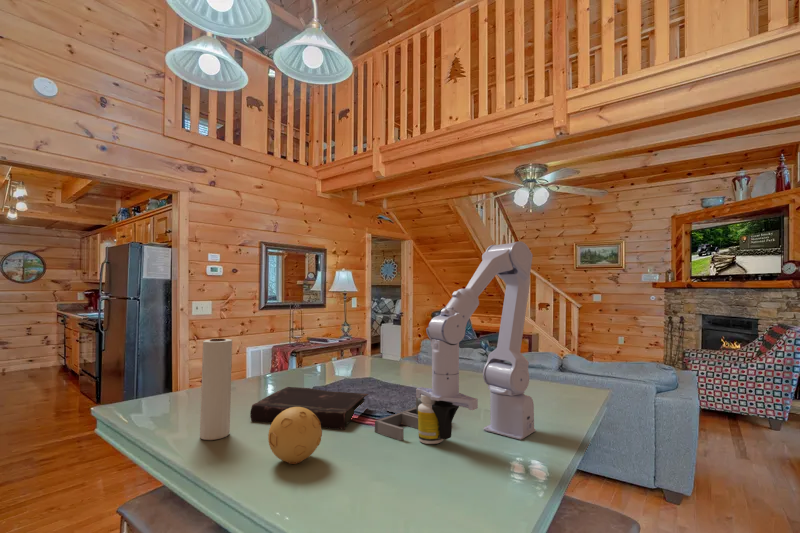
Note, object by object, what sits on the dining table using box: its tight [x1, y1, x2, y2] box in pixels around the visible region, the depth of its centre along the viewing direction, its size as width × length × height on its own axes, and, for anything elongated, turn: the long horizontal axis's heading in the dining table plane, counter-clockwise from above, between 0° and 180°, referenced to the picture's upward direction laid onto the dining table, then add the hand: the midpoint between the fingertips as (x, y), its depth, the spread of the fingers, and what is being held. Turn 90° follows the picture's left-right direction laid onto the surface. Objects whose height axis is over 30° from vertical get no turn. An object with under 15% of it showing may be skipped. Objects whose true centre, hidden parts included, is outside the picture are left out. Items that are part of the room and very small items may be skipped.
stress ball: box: [267, 407, 323, 465], centre depth 76 cm, size 10×10×10 cm
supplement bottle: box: [417, 394, 444, 445], centre depth 87 cm, size 5×5×10 cm
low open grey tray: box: [374, 396, 422, 442], centre depth 99 cm, size 17×17×6 cm
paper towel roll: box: [199, 338, 233, 441], centre depth 90 cm, size 7×6×21 cm
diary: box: [249, 386, 369, 431], centre depth 105 cm, size 19×25×5 cm
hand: (445, 437), depth 84 cm, fingers closed, pressing on supplement bottle
